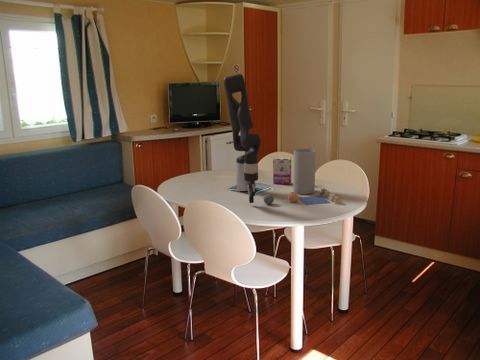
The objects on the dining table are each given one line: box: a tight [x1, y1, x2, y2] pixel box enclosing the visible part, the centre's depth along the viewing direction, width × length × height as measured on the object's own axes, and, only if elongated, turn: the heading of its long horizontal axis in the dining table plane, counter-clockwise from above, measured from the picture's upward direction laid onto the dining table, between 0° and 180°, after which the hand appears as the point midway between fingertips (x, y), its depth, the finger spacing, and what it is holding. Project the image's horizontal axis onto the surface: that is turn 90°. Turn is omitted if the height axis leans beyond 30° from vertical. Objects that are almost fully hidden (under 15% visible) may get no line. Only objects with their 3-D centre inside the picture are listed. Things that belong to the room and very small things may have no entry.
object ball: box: [287, 191, 299, 203], centre depth 251 cm, size 6×6×6 cm
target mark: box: [298, 195, 331, 206], centre depth 255 cm, size 14×14×1 cm
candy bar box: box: [272, 157, 292, 185], centre depth 290 cm, size 11×5×16 cm, turn 76°
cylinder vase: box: [292, 148, 316, 195], centre depth 269 cm, size 12×12×25 cm
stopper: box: [320, 188, 340, 205], centre depth 256 cm, size 20×2×4 cm, turn 13°
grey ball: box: [263, 193, 275, 205], centre depth 248 cm, size 6×6×6 cm
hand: (251, 202), depth 247 cm, fingers closed
